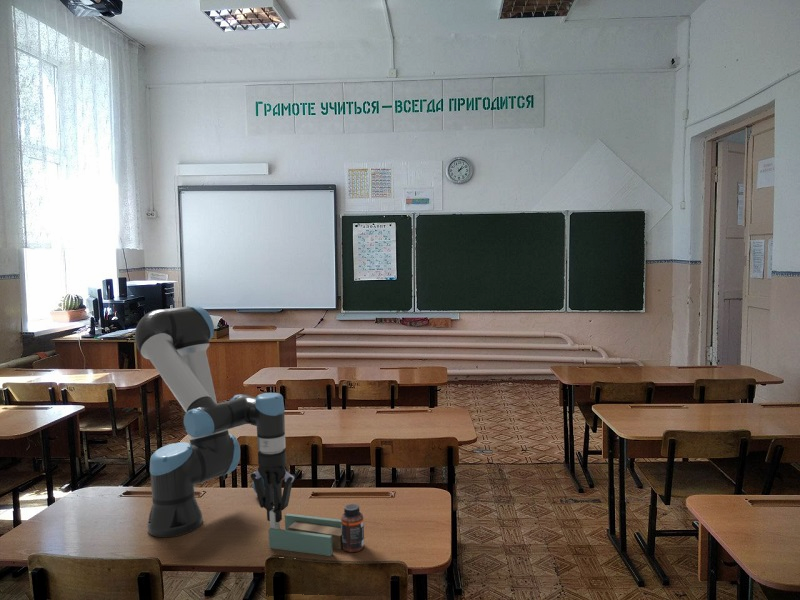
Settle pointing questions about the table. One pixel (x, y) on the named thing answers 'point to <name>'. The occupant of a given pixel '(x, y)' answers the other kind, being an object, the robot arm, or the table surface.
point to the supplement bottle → (352, 529)
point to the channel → (303, 536)
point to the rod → (319, 531)
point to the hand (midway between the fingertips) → (275, 532)
